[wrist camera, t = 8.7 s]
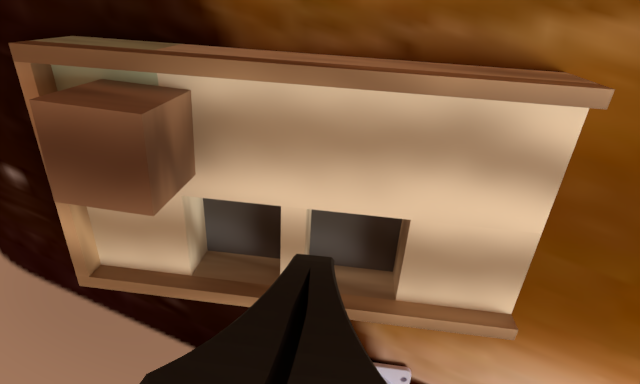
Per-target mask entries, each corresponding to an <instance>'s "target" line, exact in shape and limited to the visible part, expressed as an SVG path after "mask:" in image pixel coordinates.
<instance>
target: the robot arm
mask: <svg viewBox="0 0 640 384" xmlns="http://www.w3.org/2000/svg"><path fill="white" fill-rule="evenodd" d="M334 261H335V260H334V259H333V258H332V257H325V256H315V255H306V254H296V255H295V256H294V257H293V258H292V260H291V261H290V263H289V264H288V265H287V267H286V268H285V269H284V271H283V272H282V273H281V275H280V276H279V277H278V278H277V279H276V280H275V282H274V283H273V284H272V285H271V286H270V287H269V289H268V290H267V291H266V292H265V293H264V294H263V295H262V296H261V297H260V298H259V299H258V300H257V301H256V302H255V303H254V304H253V305H252V306H251V307H250V308H249V309H248V310H247V311H246V312H244V313H243V314H242V315H241V316H240V317H239V318H237V319H236V320H235V321H234V322H233V323H231V324H230V325H229V326H228V327H226V328H225V329H224V330H222V331H221V332H220V333H218V334H217V335H215V336H214V337H213V338H211V339H210V340H208V341H207V342H205V343H204V344H202V345H200V346H199V347H197V348H195V349H194V350H192V351H191V352H189V353H187V354H186V355H184V356H182V357H180V358H178V359H176V360H174V361H172V362H171V363H168V364H166V365H164V366H162V367H160V368H158V369H156V370H154V371H152V372H150V373H148V374H146V376H145V377H144V378H143V380H142V381H141V383H140V384H409V383H410V379H411V370H410V369H409V368H408V367H404V366H396V365H389V364H381V363H374V362H372V361H371V359H370V357H369V356H368V354H367V353H366V351H365V349H364V348H363V346H362V344H361V342H360V340H359V338H358V336H357V334H356V332H355V330H354V328H353V326H352V324H351V322H350V320H349V317H348V315H347V312H346V310H345V307H344V304H343V301H342V298H341V295H340V292H339V289H338V285H337V281H336V276H335V269H334Z"/></svg>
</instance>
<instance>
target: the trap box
mask: <svg viewBox="0 0 640 384" xmlns="http://www.w3.org/2000/svg"><path fill="white" fill-rule="evenodd" d="M8 44H9V47H10V50H11V54H12V57H13V61H14V64H15V68H16V71H17V74H18V78H19V81H20V85H21V88H22V91H23V95H24V98H25V102H26V105H27V109H28V112H29V115H30V119H31V122H32V126H33V129H34V132H35V136H36V139H37V143H38V146H39V149H40V153H41V156H42V160H43V163H44V167H45V170H46V166H45V162H44V158H43V154H42V150H41V146H40V142H39V138H38V134H37V130H36V126H35V122H34V118H33V114H32V110H31V106H30V102H29V99H33V98H36V97H40V96H43V95H47V94H50V93H54V92H57V91H61V90H64V89H68V88H71V87H75V86H78V85H82V84H85V83H89V82H92V81H96V80H99V79H107V80H115V81H123V82H131V83H139V84H147V85H155V86H163V87H171V88H178V89H186V90H191V100H192V118H193V136H194V154H195V172H196V175H195V176H194V177H193V178H192V179H191V180H190V181H189V182H188V183H187V184H186V185H185V186H184V187H183V188H182V189H181V190H180V191H179V192H178V193H177V194H176V195H175V196H174V197H173V198H172V199H171V200H170V201H169V202H168V203H167V204H166V205H165V206H164V207H163V208H162V209H161V210H160V211H159V212H158V213H157V214H156V215H155V216H147V215H140V214H133V213H127V212H120V211H113V210H106V209H99V208H92V207H86V206H79V205H72V204H65V203H58V202H55V204H56V208H57V211H58V214H59V218H60V221H61V225H62V228H63V231H64V235H65V238H66V242H67V245H68V249H69V252H70V255H71V259H72V262H73V266H74V269H75V272H76V276H77V279H78V283H79V286H86V287H94V288H102V289H110V290H118V291H126V292H134V293H142V294H150V295H158V296H165V297H173V298H181V299H189V300H197V301H205V302H213V303H221V304H229V305H237V306H245V307H251V306H252V305H253V304H254V303H255V302H256V301H257V300H258V299H259V298H260V297H261V296H262V295H263V294H264V293H265V292H266V291H267V290H268V289H269V287H270V286H271V285H272V284H273V283H274V282H275V280H276V279H277V278H278V277H279V276H280V275H281V273H282V272H283V271H284V269H285V268H286V267H287V265H288V264H289V263H290V261H291V260H292V258H293V257H294V256H295V255H296V254H306V255H315V256H325V257H332V258H333V259H334V260H335V261H334V269H335V276H336V281H337V285H338V289H339V292H340V295H341V298H342V301H343V304H344V307H345V310H346V312H347V315H348V317H349V320H357V321H365V322H372V323H380V324H388V325H396V326H404V327H412V328H420V329H428V330H436V331H444V332H452V333H460V334H468V335H476V336H484V337H492V338H500V339H508V340H514V339H515V337H516V334H517V332H518V328H517V326H516V324H515V322H514V320H513V317H512V315H511V313H512V310H513V308H514V305H515V302H516V300H517V297H518V295H519V292H520V289H521V287H522V284H523V281H524V279H525V276H526V274H527V271H528V268H529V266H530V263H531V260H532V258H533V255H534V252H535V250H536V247H537V245H538V242H539V239H540V237H541V234H542V231H543V229H544V226H545V223H546V221H547V218H548V216H549V213H550V210H551V208H552V205H553V202H554V200H555V197H556V195H557V192H558V189H559V187H560V184H561V181H562V179H563V176H564V173H565V171H566V168H567V166H568V163H569V160H570V158H571V155H572V152H573V150H574V147H575V144H576V142H577V139H578V137H579V134H580V131H581V129H582V126H583V123H584V121H585V118H586V116H587V113H588V110H589V108H596V109H607V108H608V105H609V103H610V100H611V98H612V95H613V93H614V89H612V88H609V87H606V86H603V85H600V84H597V83H594V82H592V81H589V80H586V79H583V78H580V77H577V76H574V75H572V74H569V73H566V72H552V71H539V70H526V69H512V68H499V67H485V66H472V65H458V64H445V63H431V62H418V61H405V60H391V59H378V58H364V57H351V56H337V55H324V54H311V53H297V52H284V51H270V50H257V49H243V48H230V47H217V46H203V45H190V44H176V43H163V42H149V41H136V40H122V39H109V38H96V37H82V36H66V37H57V38H48V39H39V40H30V41H21V42H12V43H8ZM46 173H47V170H46ZM47 177H48V174H47ZM48 180H49V178H48ZM49 184H50V182H49ZM50 187H51V186H50Z"/></svg>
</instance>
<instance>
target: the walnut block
mask: <svg viewBox="0 0 640 384" xmlns="http://www.w3.org/2000/svg"><path fill="white" fill-rule="evenodd" d="M29 102H30V106H31V110H32V114H33V118H34V122H35V126H36V130H37V134H38V138H39V142H40V146H41V150H42V154H43V158H44V162H45V166H46V170H47V174H48V178H49V182H50V186H51V190H52V194H53V198H54V202H58V203H65V204H72V205H79V206H86V207H92V208H99V209H106V210H113V211H120V212H127V213H133V214H140V215H147V216H155V215H156V214H157V213H158V212H159V211H160V210H161V209H162V208H163V207H164V206H165V205H166V204H167V203H168V202H169V201H170V200H171V199H172V198H173V197H174V196H175V195H176V194H177V193H178V192H179V191H180V190H181V189H182V188H183V187H184V186H185V185H186V184H187V183H188V182H189V181H190V180H191V179H192V178H193V177H194V176H195V175H196V172H195V154H194V136H193V118H192V100H191V90H186V89H178V88H171V87H163V86H155V85H147V84H139V83H131V82H123V81H115V80H107V79H99V80H96V81H92V82H89V83H85V84H82V85H78V86H75V87H71V88H68V89H64V90H61V91H57V92H54V93H50V94H47V95H43V96H40V97H36V98H33V99H29Z"/></svg>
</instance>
